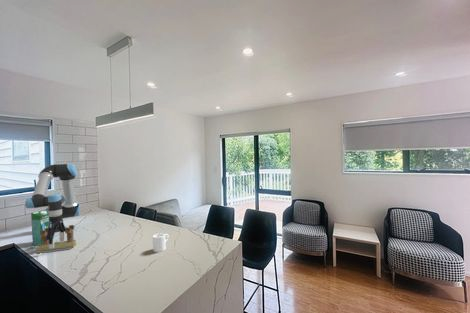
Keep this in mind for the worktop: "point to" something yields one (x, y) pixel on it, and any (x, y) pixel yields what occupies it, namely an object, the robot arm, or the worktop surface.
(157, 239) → the mug
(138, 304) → the worktop surface
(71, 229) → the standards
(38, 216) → the milk carton
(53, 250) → the mat
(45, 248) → the rail
